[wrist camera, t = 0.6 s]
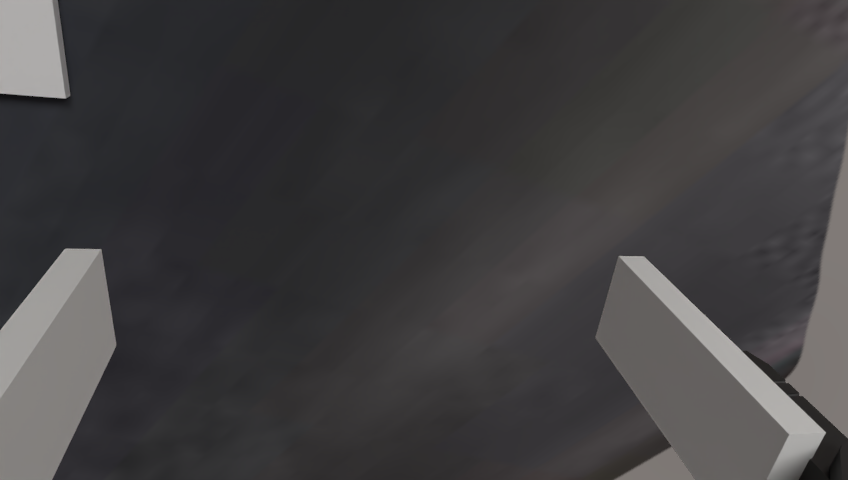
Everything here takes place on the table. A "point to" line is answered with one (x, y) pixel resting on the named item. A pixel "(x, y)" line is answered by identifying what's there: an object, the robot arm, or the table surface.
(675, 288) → the robot arm
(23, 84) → the mat
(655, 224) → the table surface
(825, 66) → the table surface
